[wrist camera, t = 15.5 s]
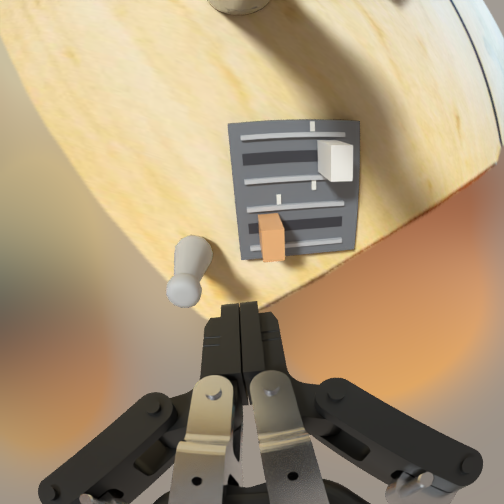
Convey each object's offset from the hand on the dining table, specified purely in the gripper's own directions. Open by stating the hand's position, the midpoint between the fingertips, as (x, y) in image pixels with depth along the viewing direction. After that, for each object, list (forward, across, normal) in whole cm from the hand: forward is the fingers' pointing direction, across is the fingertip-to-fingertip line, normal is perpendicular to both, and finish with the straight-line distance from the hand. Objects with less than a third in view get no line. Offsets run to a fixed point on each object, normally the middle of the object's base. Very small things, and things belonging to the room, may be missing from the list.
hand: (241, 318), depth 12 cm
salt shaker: (+30, +8, +12) cm, 33 cm away
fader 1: (+27, -4, +9) cm, 29 cm away
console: (+30, -8, +4) cm, 31 cm away
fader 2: (+27, -12, -1) cm, 30 cm away
